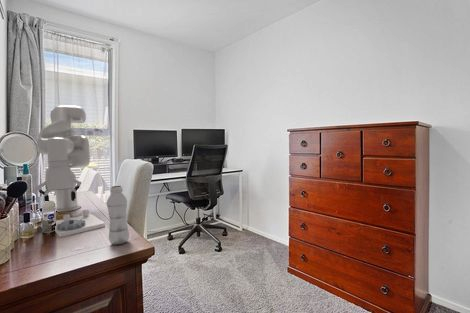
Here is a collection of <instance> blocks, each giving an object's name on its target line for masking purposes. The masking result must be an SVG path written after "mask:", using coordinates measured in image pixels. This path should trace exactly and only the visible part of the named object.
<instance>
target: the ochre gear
mask: <svg viewBox="0 0 470 313" xmlns="http://www.w3.org/2000/svg"><path fill="white" fill-rule="evenodd" d="M55 213H56V221H57V220H63V215H67V214H69V215H70V218H73V214H72V211H64V212H55Z"/></svg>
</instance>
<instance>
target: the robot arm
mask: <svg viewBox="0 0 470 313" xmlns="http://www.w3.org/2000/svg"><path fill="white" fill-rule="evenodd" d="M49 116H50V121H51V123H50V124H48V125H47V126H45V127H44V128H42V129H41V130H40V132H39V134H38V136H37V141H36V147H37V146H38V148H39V151H38V153H39V154H41V155H47V163H48V164H47V165H48V168H46V169H45V178H44V182H42V183H39V184H38V185H36V186H35V188H36V190H37V192H38V193H40V194H41V195H42V196H43V198H44V199H43V200H44V202H45V201H49V202H50V195H49V193H50V192H51V191H52V192H53V191H55V202H56V206H55V207H56V211H57V212H56V213H59V212H72V211H74V210H78V209H81V207H82V205H81V204H79V203H78V192H77V191H78V190H79V189H80V188H81V184H82V181H79V180H77V176H76V174H75V172H73V171H72V170H71V169H74V168H85V167H88V166H89V164H90V161H91V157H90V156H91V155H90V141H89V138H88V137H87V136H85V135H75V132H74V130H73V129H72V128H71V127H72V124H84V123H85V122H86V119H87V117H86V116H87V115H86V112H85V110H84V108H83V107H82V106H78V105H57V106H55V107H54V108H53V109H51V111H50V115H49ZM43 187H45V191H43V190H42V188H43Z"/></svg>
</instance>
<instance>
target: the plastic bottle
mask: <svg viewBox="0 0 470 313" xmlns="http://www.w3.org/2000/svg"><path fill="white" fill-rule="evenodd" d="M123 191H124V190H123V186H122V185H113V186H111V187H110V192H109V193H110V195H109V196H108V199H107V200H106V206H107V212H108V218H109V232H108V241H109V242H110V244H111V245H123V244H126V243H127V242H128V241H129V238H130V230H129V228H128V222H127V221H128V220H127V209H128V208H127V207H128V200H127V197H126V195H124V193H123Z"/></svg>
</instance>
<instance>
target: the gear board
mask: <svg viewBox="0 0 470 313" xmlns="http://www.w3.org/2000/svg"><path fill="white" fill-rule="evenodd" d="M89 212H90V209H83V210H82V215H78V216H74V217H73V216H72V218H70V215H69V214H67V215H63V220H57V221H56V226H55V230H54V231H55V233H56V234H57V236H58V238H62V237H66V236H70V235H75V234H78V233H83V232H84V233H85V232H87V231H92V230H96V229H100V228H101V229H102V228H104V227H105V228H106V224H105V222H104V221H102V220H101V219H99V218H98V217H96V216H95V215H94V214H92V213H89Z"/></svg>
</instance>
